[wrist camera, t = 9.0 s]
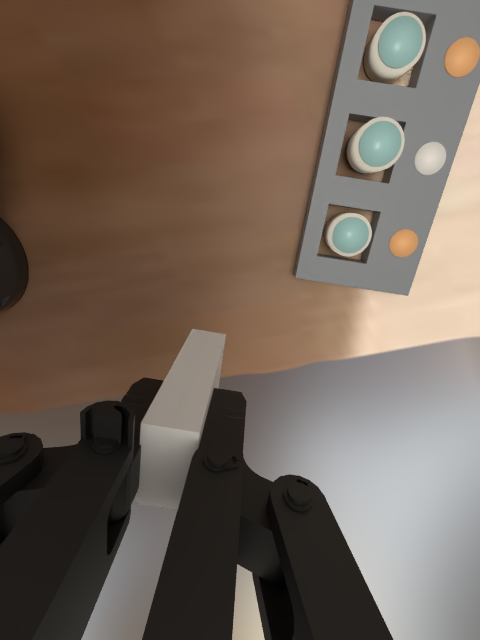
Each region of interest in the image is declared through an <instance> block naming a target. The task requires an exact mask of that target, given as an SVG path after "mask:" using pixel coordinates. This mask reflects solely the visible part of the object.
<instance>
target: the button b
mask: <svg viewBox="0 0 480 640" xmlns="http://www.w3.org/2000/svg"><path fill="white" fill-rule="evenodd" d="M404 142H405V137H404V132H403V130H402V127H401V126H400V125H399V123H398V122H397V121H395V120H394V119H392V118H389V117H377V118H374V119H372V120H370V121H369V122H367V123H366V124H365V125H363V126H362V127H361V128H359V129H358V130H357V131H356V132H355V133H354V134H353V135H352V137H351V138H350V140H349V142H348V145H347V159H348V162H349V164H350V166H351V167H352V168H353V169H354V170H355V171H357V172H359V173H362V174H370V173H374V172H378V171H382V170H385V169H387V168H389V167H390V166H392V165H393V164H394V163H395V162H396V161H397V160H398V159H399V157H400V155H401V153H402V151H403V148H404Z"/></svg>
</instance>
